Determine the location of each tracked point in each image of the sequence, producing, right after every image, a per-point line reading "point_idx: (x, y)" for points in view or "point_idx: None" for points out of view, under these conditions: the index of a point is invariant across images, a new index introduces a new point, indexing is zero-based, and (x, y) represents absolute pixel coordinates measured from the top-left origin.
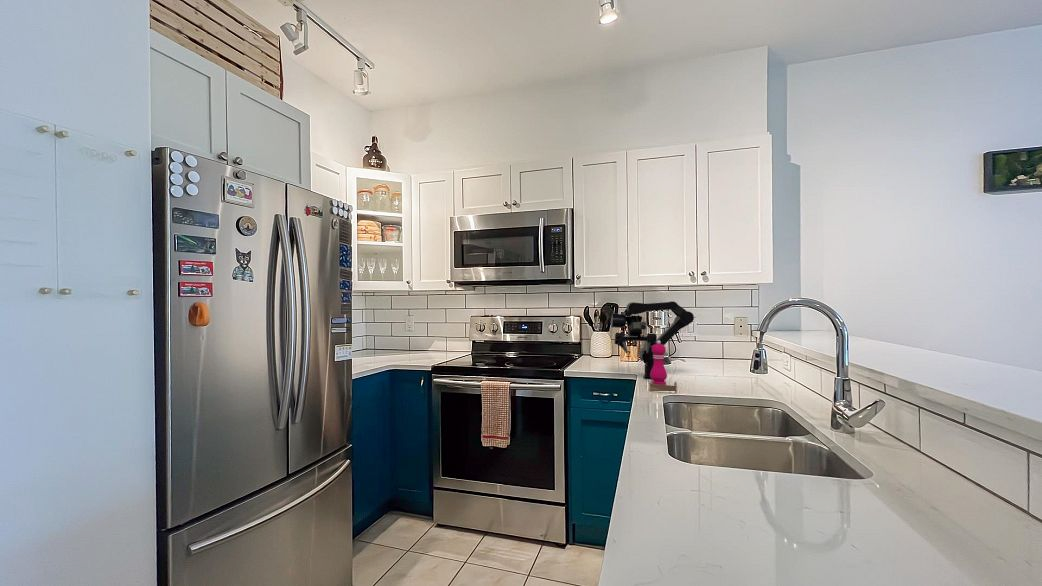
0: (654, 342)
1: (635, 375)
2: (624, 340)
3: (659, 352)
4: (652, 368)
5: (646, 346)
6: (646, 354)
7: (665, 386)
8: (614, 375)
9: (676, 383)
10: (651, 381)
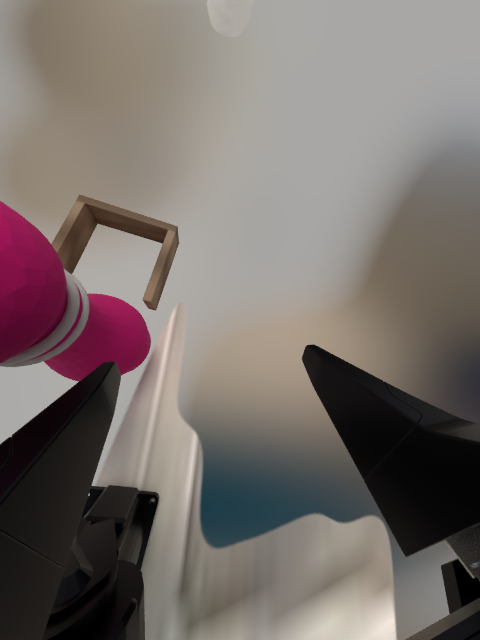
0: None
1: (187, 582)
2: (468, 436)
3: None
4: (125, 323)
5: (52, 542)
6: (82, 614)
7: (120, 210)
8: (291, 532)
9: None
10: (159, 272)
